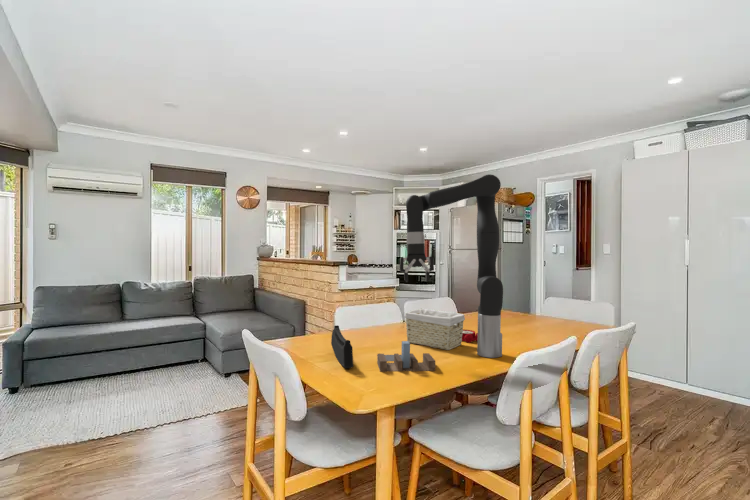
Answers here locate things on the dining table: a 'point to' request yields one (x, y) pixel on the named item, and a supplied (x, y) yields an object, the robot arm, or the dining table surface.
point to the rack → (426, 365)
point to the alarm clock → (469, 336)
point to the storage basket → (434, 328)
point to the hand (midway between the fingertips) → (417, 281)
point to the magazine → (342, 348)
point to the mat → (390, 357)
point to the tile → (405, 354)
